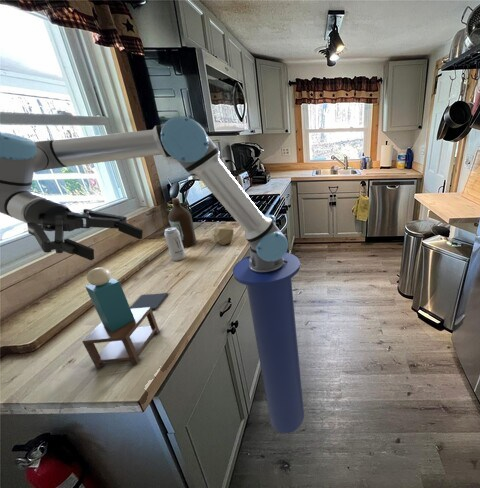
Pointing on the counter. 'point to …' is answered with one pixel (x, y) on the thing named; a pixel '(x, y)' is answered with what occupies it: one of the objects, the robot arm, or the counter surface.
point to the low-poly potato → (223, 234)
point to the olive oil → (182, 223)
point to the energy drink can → (174, 243)
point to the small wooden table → (122, 339)
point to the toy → (108, 299)
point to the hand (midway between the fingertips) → (119, 243)
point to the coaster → (149, 301)
